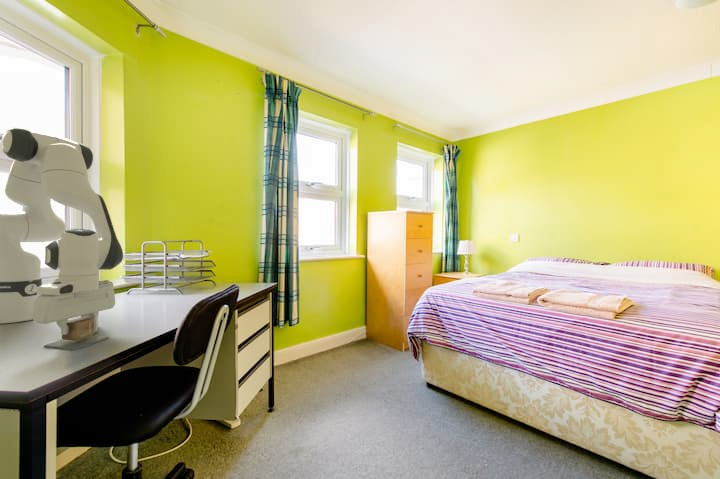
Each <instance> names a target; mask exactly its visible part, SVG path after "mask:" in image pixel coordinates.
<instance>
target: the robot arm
mask: <svg viewBox="0 0 720 479" xmlns="http://www.w3.org/2000/svg"><path fill="white" fill-rule="evenodd" d="M1 147H2V151H3V153H4V154H5V156H7V157H8V158H10V159H11V160H13V162H12V164H11V167H10V170H9V174H8V178H7V181H6V186H5V190H4V193H5V195H6V197H7V198H8V199H9V200H10V201H12V202H14V203H16V204H18V205H20V206H22V211H20V212H18V211H5V210H4V211H1V210H0V325H1V324H10V323H18V322H24V321H25V322H26V321H31V320H33V321H34V323H36V324H41V325H47V324H51V323H56V325H57V326H58V327H59V328H60V334H61V336H62V335H66V334H70V333H71V332H72V331H71V330H72V327H68V326H67V325H66V323H68V320H70V319H74V318H79V317H81V316H82V315H86V314H88V315H90V317H89V318H92V319H94V321H95V320H96V318H97V316H98V317H99V312H103V311H107V310H111V309H114V307H115V306H116V294H115V290H114V283H112V281H110V280H107V279H106V280H100V270H102V271H103V270H105V271H107V270H109V271H110V270H113V269H115V268H116V267H117V266H119V265H120V264H121V263H122V262H123V257H124V253H123V252H124V251H123V248H122V245H121V243H120V242H119V239H118V237H117V235H116V232H115V228H114V225H113V222H112V219H111V216H110V213H109V211H108V206H107V205H106V202H105V200H104V199H103V197H102V195H100V194H98V193H97V192H96V191H95V190H94V189H93V188H92V186H91V185H90V182H89V176H88V170H89V169H90V168H91V166H93V161H94V154H93V152H92V150H91V148H90V147H89V146H87V145H85V144H83V143H80V142H75V141H72V140H70V139H68V138H65V137H64V138H63V137H61V136H57V135H50V134H47V133H42V132H39V131H33V130H29V129H26V128H21V127H11V128H10V129H8V130H6V131H5V133H4V134H3V136H2V137H1ZM51 200H53V201H54V202H56V203H58V204H60V205H63V206H66V207H69V208H72V209H75V210H78V211H81V212H82V213H84V214H86V215H88V216H89V217H90V219H91V221H93V222H92V223H93V225H94V230H95V231H93V230H91V229H83V228H69V229H67V226H66V223H65V221H64V220H63V219H62V218H61V217H59V216H58V214H56V213H55V212H54V210H53V208H52V203H51ZM45 242H50V243H49V244H47V245H46V246H45V256H44V257H45V260H44V263H45V265H46V266H48V267H49V268H51V269H52V270H55V271H59V272H58V277H57V278H56V279H53V280H51V281H49V282H47V283H43V280H42V278H41V259H40V258H39V256H37V255H36V254H34V253H32V252H29V251H26V250H24V249H23V248H22V246H21V243H45Z"/></svg>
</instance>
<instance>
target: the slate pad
mask: <svg viewBox="0 0 720 479" xmlns="http://www.w3.org/2000/svg"><path fill="white" fill-rule="evenodd" d="M109 338H110V336H106V335H95V334H94V335H93V336H90V337H87V338H83V339H80V340H77V341H74V340H64V339H60V340H57V341H54V342H51V343H47V344H44V345H43V348H45V349H46V348H48V349H56V350H57V349H58V350H68V351H76V350H79V349H83V348H85V347H87V346H91V345H94V344H97V343H99V342H102V341H105V340H109Z"/></svg>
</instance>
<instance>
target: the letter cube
mask: <svg viewBox="0 0 720 479" xmlns="http://www.w3.org/2000/svg"><path fill="white" fill-rule="evenodd" d="M66 325H67V326H68V327H72V330H71V331H72V332H71V333H70V334H66V335H62V334H61V340H63V339H64V340H74V341H77V340H80V339H83V338H87V337H90V336H93V335H95V333H94V319H92V318H81V317H76V318H71V319H68V323H66Z"/></svg>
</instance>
